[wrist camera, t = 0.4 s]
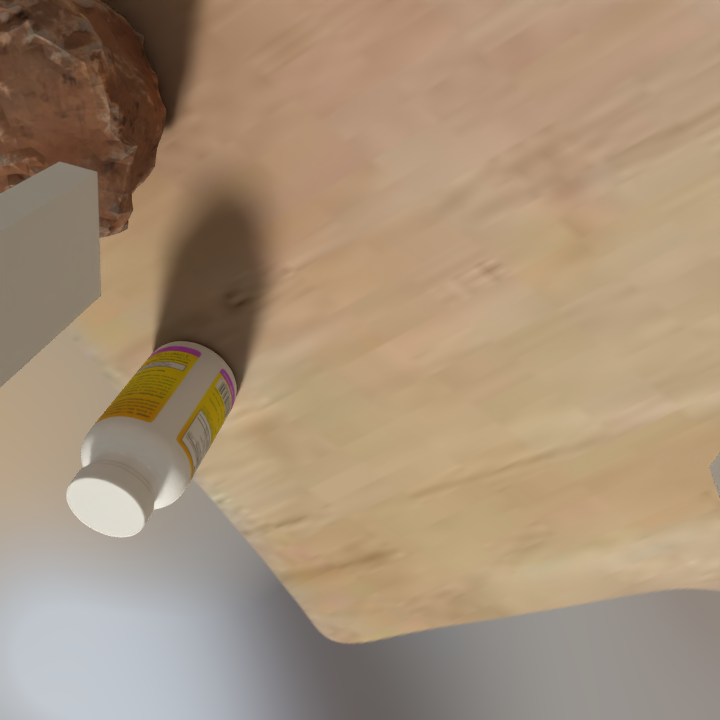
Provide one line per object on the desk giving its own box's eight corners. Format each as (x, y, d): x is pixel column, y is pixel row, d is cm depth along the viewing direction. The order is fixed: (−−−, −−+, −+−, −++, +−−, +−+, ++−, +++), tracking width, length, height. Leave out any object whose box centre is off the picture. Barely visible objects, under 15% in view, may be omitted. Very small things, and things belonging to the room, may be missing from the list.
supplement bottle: (134, 371, 49) (27, 497, 38) (184, 319, 45) (82, 442, 35) (205, 429, 51) (122, 565, 40) (259, 383, 47) (183, 519, 37)
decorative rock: (198, 207, 41) (116, 282, 32) (28, 191, 42) (-90, 258, 34) (167, -48, 33) (52, -35, 25) (-36, -55, 35) (-206, -44, 27)
